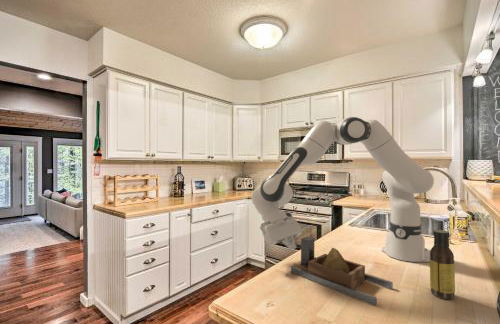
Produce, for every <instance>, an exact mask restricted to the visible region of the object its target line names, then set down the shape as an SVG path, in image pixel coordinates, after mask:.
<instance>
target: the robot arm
mask: <svg viewBox="0 0 500 324" xmlns="http://www.w3.org/2000/svg"><path fill="white" fill-rule="evenodd" d="M333 143H335V144H336V145H341V146H342V145H343V146H344V145H345V146H346V145H352V144H356V143H362V145H363V146H364V147H365V149H366V150H367V151H368V153H369V154H370V156H371V157H372V158H373V160H374V161H375V162H376V164H377V165H378V166H379V167H381V168H383V170H384V171H383V172H382V175H381V177H382V178H381V179H382V182H383V184H384V186H385V187H386V192H387V195H388V198H389V203H390V204H389V205H390V206H389V207H390V221H389V222H388V223H389V225H388V227H389V228H388V230H389V231H388V232H386V233H385V240H384V247H381V250H380V251H382V252H384V253H385V254H386V255H387V256H389V257H391V258H394V259H396V260H398V261H400V260H401V261H405V262H411V263H420V262H422V263H423V262H424V263H425V262H426V263H430V250H431V249H429V248H427V247H426V244H425V243H426V241H425V237H424V236H423V234H422V230H423V228H422V223H421V207H420V205H419V202H418V201H417V199H416V197H415V195H417V194H425V193H427V192H429V191H430V190H432V188H433V186H434V183H435V182H434V181H435V179H434V176H433V174H432V173H431V172H430V171H429V170H427V169H425V168H424V167H422V166H421V165H419V164H418V163H417V162H416V161H415V160H413V159H412V158H411V157H410V156H409V155H408V154H407V153H406V152H405V151H404V150H403V149H402V147H401V146H400V145H399V144H398V143H397V140H395V139H394V137H393V135H391V133H390V132H389V131H388V129H387V128H386V127H385V126H384V125H383V124H382V123H380V121H378V120H376V119H369V120H363V119H362V118H360V117H356V116H355V117H354V116H350V117H347V118H344V119H341V120H339V121H338V122H335V123H331V122H330V121H327V120H320V121H318V122H317V123H315V125H313V126H312V127H311V129H310V130H309V131H308V132H307V133H306V134H305V136H304V138H303V139H302V140H301V141H300V142H299V144H298V145H297V146H296V148H294V149H293V150H292V151H291V152H290V153H289V154H288V155H287V157H286V158H284V160H283V161H282V163H281V164H280V165H279V166H278V167H277V169H276V170H275V171H274V172H273V173H272V174H271V175H269V176H267V177H266V178H265V179H263V181H262V182H261V184H260V186H258V187H256V188H255V189H254V190H253V192H252V193H251V198H250V199H251V202H252V204H253V206H254V208H255V209H256V211H257V212H258V214H259V215H260V216H261V219H262V221H263V223H261V224H260V226H259V229H260V231H261V233H262V236H263V238H264V240H265V242H266V244H267V245H269V246H270V247H271V246H273V245H277V244H279V243H282V244H283V245H284V246H285V247H287V248H288V250H289V251H292V250H294V249H297V245H296V243H295V238H297V237H299V236H300V235H301V234H302V233H303V229H302V227H301V225H300V224H299V223H298V221H297V220H296V218H294V216H293V214H292V213H291V212H288V211H284V210H282V209H280V208H281V207H284V206H285V205H287V204H288V203H290V202H291V201H292V199H293V197H294V191H293V188H292V187H291V186H290V185H289V184H288V181H289V180H290V178H292V176H293V175H294V174H295V173H296V171H297V170H298V169H299V168H300V167H301V166H304V165H312V164H317V162H319V161H320V160H321V159H322V158H323V157H324V155H325V153H326V152H327V150H329V148H330V146H331V145H332V144H333Z"/></svg>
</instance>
